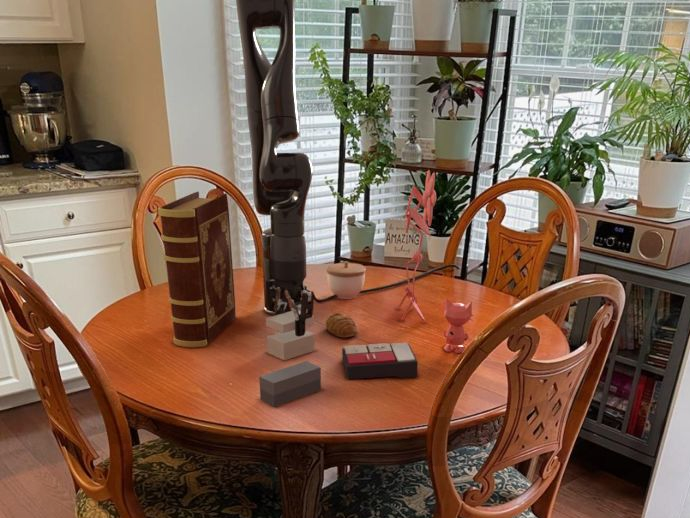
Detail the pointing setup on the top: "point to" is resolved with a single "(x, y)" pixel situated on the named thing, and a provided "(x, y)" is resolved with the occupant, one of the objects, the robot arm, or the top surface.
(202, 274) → the decorative book
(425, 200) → the figurine
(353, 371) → the grey and red box
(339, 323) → the pastry
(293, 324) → the beige flat block
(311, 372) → the gray sharpening stone
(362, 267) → the trinket box
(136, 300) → the top surface
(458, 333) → the cat figurine
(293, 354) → the light gray block
